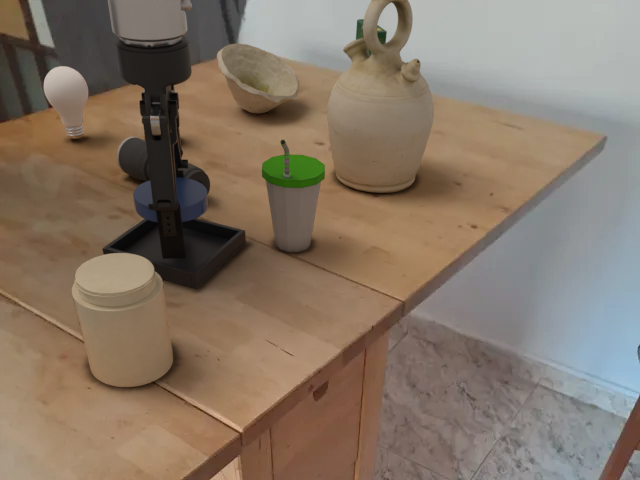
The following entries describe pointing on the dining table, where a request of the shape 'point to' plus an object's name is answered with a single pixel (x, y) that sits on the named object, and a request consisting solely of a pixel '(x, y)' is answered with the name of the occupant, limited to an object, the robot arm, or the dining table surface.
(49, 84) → the light bulb
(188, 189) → the lid
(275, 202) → the cup
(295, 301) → the dining table surface
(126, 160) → the flashlight
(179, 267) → the tray
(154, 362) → the jar
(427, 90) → the jug
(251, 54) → the bowl
